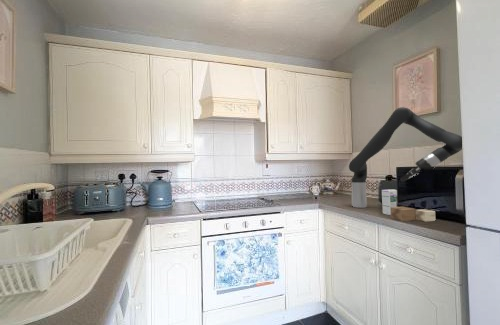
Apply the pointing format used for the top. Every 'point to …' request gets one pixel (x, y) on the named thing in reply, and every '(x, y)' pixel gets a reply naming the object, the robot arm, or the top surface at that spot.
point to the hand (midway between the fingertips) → (401, 180)
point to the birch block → (425, 215)
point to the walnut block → (403, 213)
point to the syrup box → (389, 200)
